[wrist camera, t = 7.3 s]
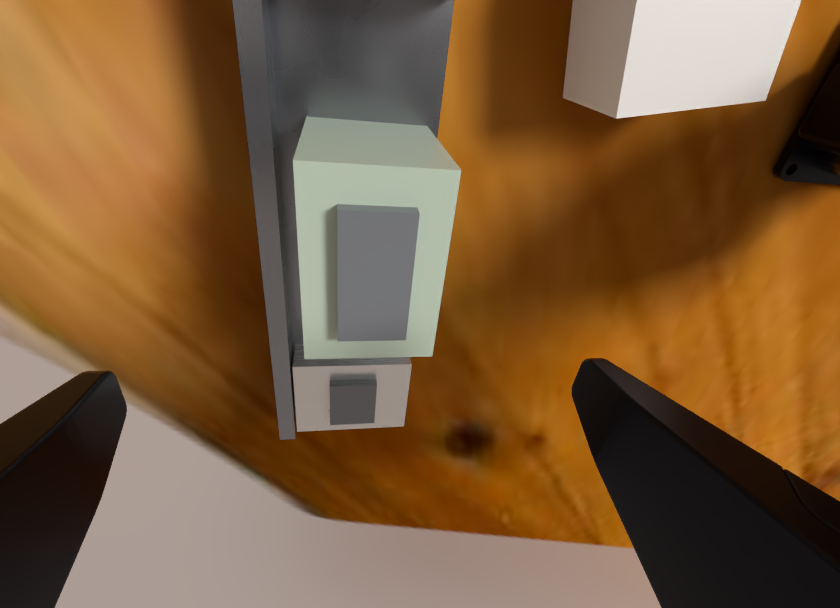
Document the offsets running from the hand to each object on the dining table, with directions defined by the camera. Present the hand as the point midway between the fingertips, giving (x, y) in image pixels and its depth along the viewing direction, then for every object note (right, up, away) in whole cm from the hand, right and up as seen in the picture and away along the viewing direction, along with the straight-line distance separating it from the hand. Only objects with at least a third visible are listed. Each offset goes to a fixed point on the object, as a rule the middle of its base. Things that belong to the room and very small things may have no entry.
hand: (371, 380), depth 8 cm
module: (-1, +5, +7) cm, 9 cm away
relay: (+9, +12, +7) cm, 16 cm away
